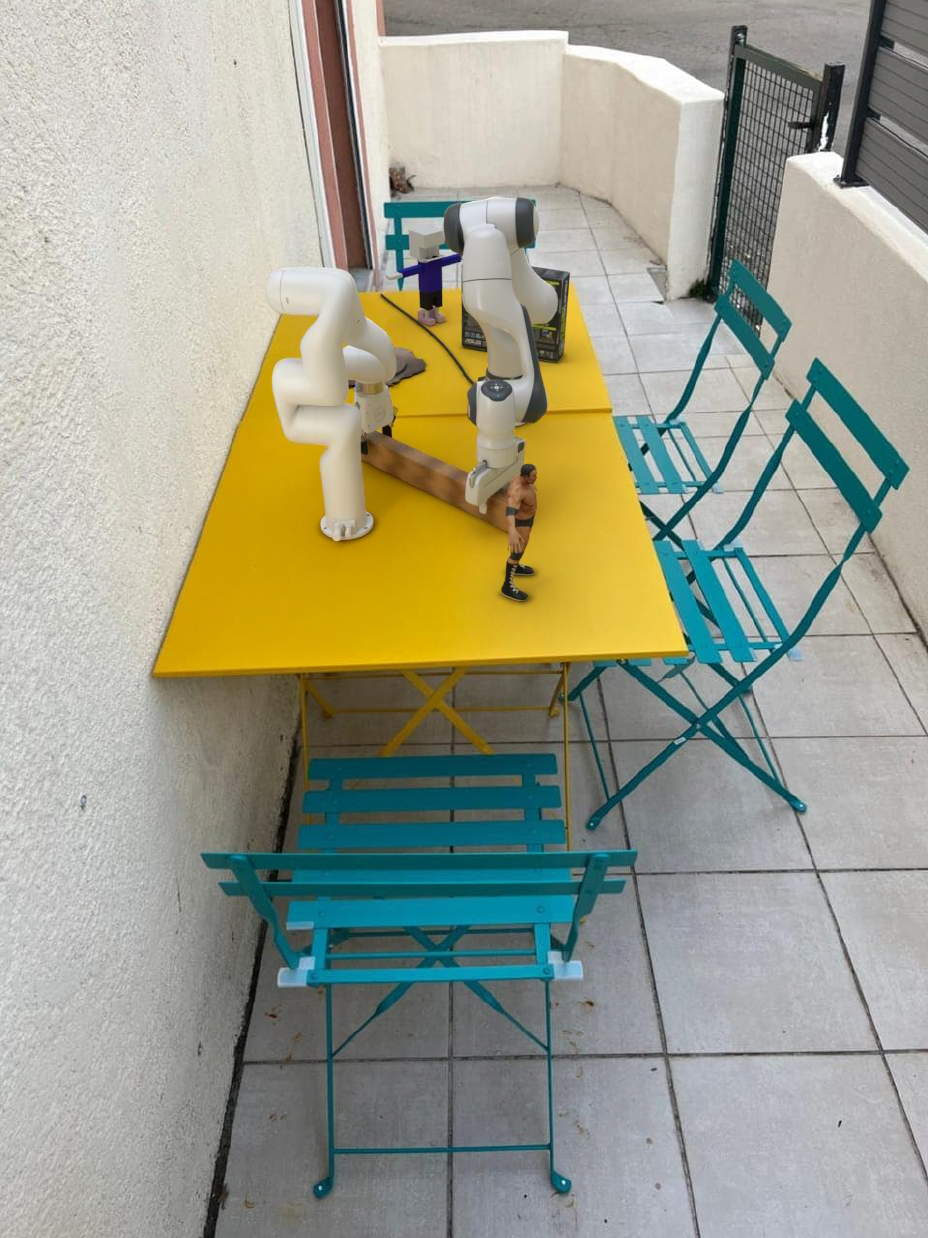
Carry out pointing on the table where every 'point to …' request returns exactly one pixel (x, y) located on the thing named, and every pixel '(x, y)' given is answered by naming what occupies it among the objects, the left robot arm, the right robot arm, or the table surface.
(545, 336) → the box
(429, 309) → the toy
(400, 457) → the post
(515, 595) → the figurine
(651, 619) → the table surface
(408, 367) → the sculpture
